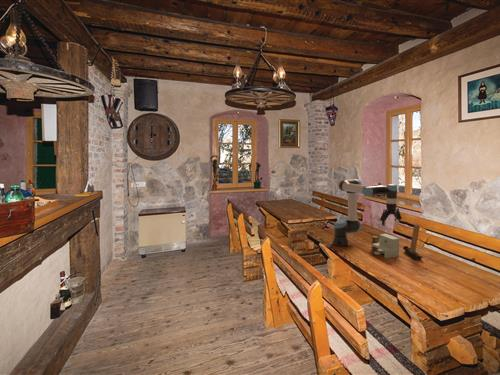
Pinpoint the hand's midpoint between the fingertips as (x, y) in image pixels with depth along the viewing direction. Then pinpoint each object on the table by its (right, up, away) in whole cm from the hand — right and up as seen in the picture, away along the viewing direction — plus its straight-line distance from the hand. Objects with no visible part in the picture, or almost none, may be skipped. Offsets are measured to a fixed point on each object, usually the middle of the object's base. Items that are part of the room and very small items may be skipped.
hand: (390, 228), depth 224 cm
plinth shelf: (+4, -26, +16) cm, 31 cm away
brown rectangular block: (+3, -25, +22) cm, 34 cm away
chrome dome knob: (-2, -26, +18) cm, 31 cm away
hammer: (+24, -26, +10) cm, 37 cm away
